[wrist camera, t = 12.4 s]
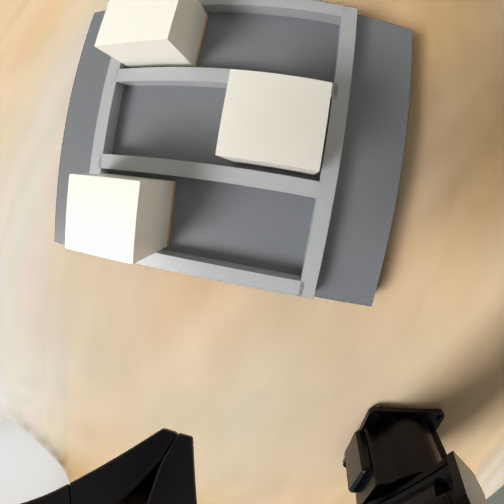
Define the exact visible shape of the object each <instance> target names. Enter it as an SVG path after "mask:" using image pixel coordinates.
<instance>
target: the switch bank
mask: <svg viewBox="0 0 504 504" xmlns="http://www.w3.org/2000/svg"><path fill="white" fill-rule="evenodd" d="M199 2H200V3H201V5H202V7H203V8H204V10H205V12H206V13H207V17H206V21H205V25H204V29H203V33H202V37H201V41H200V45H199V50H198V54H197V58H196V63H195V67H148V68H129V67H128V66H126V65H125V64H123V63H121V62H120V61H118V60H116V59H115V58H113V57H111V56H110V55H108V54H106V53H105V52H103V51H101V50H99V49H98V48H96V47H94V46H95V42H96V39H97V36H98V32H99V29H100V26H101V23H102V20H103V17H104V14H105V12H106V11H101V12H96V13H94V16H93V19H92V21H91V24H90V27H89V30H88V34H87V37H86V40H85V43H84V47H83V50H82V53H81V57H80V61H79V64H78V68H77V72H76V76H75V80H74V84H73V89H72V93H71V98H70V103H69V108H68V113H67V118H66V124H65V130H64V136H63V142H62V150H61V157H60V166H59V175H58V185H57V198H56V216H55V242H58V243H62V244H65V228H66V208H67V194H68V182H69V174H118V175H128V176H137V177H146V178H154V179H162V180H170V181H174V188H173V196H172V204H171V212H170V221H169V230H168V239H167V247H165V248H163V249H162V250H160V251H158V252H156V253H154V254H152V255H150V256H148V257H146V258H144V259H142V260H140V261H138V262H136V263H137V264H141V265H146V266H150V267H155V268H159V269H164V270H169V271H173V272H178V273H182V274H187V275H192V276H197V277H201V278H206V279H211V280H216V281H221V282H226V283H231V284H236V285H241V286H246V287H251V288H256V289H261V290H267V291H272V292H277V293H282V294H288V295H293V296H299V297H304V298H310V299H313V298H314V297H319V298H325V299H331V300H336V301H342V302H348V303H354V304H360V305H366V306H372V303H373V299H374V295H375V292H376V288H377V284H378V280H379V277H380V273H381V269H382V265H383V260H384V256H385V252H386V248H387V243H388V239H389V234H390V229H391V225H392V220H393V215H394V210H395V204H396V199H397V193H398V187H399V181H400V175H401V169H402V162H403V155H404V147H405V139H406V131H407V121H408V111H409V99H410V86H411V67H412V30H410V29H407V28H404V27H401V26H397V25H394V24H391V23H387V22H384V21H380V20H376V19H372V18H368V17H364V16H360V15H357V10H358V9H356V8H352V7H347V6H342V5H337V4H332V3H326V2H320V1H313V0H199ZM230 69H236V70H248V71H258V72H267V73H275V74H283V75H290V76H297V77H303V78H309V79H315V80H321V81H326V82H331V83H332V90H331V97H330V105H329V112H328V119H327V126H326V133H325V139H324V146H323V152H322V158H321V165H320V171H319V172H318V173H316V174H314V175H312V174H306V173H301V172H295V171H290V170H284V169H278V168H272V167H266V166H259V165H253V164H246V163H239V162H233V161H231V160H228V159H225V158H222V157H219V156H217V155H215V153H216V146H217V140H218V134H219V129H220V123H221V117H222V111H223V106H224V100H225V95H226V89H227V84H228V79H229V74H230Z"/></svg>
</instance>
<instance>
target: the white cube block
mask: <svg viewBox="0 0 504 504" xmlns="http://www.w3.org/2000/svg"><path fill="white" fill-rule="evenodd" d="M331 90H332V83H331V82H326V81H321V80H315V79H309V78H303V77H297V76H290V75H283V74H275V73H267V72H258V71H248V70H236V69H230V74H229V79H228V84H227V89H226V95H225V100H224V106H223V111H222V117H221V123H220V129H219V134H218V140H217V146H216V153H215V155H217V156H219V157H222V158H225V159H228V160H231V161H233V162H239V163H246V164H253V165H259V166H266V167H272V168H278V169H284V170H290V171H295V172H301V173H306V174H312V175H314V174H316V173H318V172H319V171H320V165H321V158H322V152H323V146H324V139H325V133H326V126H327V119H328V112H329V105H330V97H331Z"/></svg>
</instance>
